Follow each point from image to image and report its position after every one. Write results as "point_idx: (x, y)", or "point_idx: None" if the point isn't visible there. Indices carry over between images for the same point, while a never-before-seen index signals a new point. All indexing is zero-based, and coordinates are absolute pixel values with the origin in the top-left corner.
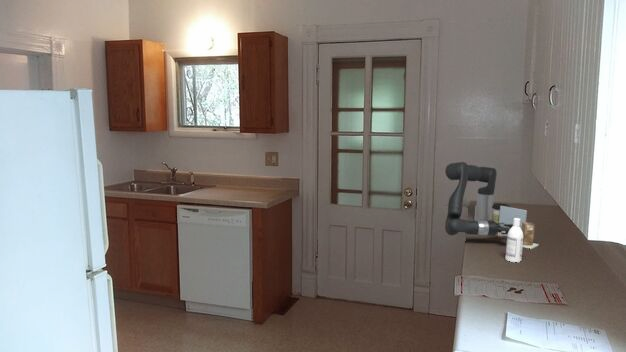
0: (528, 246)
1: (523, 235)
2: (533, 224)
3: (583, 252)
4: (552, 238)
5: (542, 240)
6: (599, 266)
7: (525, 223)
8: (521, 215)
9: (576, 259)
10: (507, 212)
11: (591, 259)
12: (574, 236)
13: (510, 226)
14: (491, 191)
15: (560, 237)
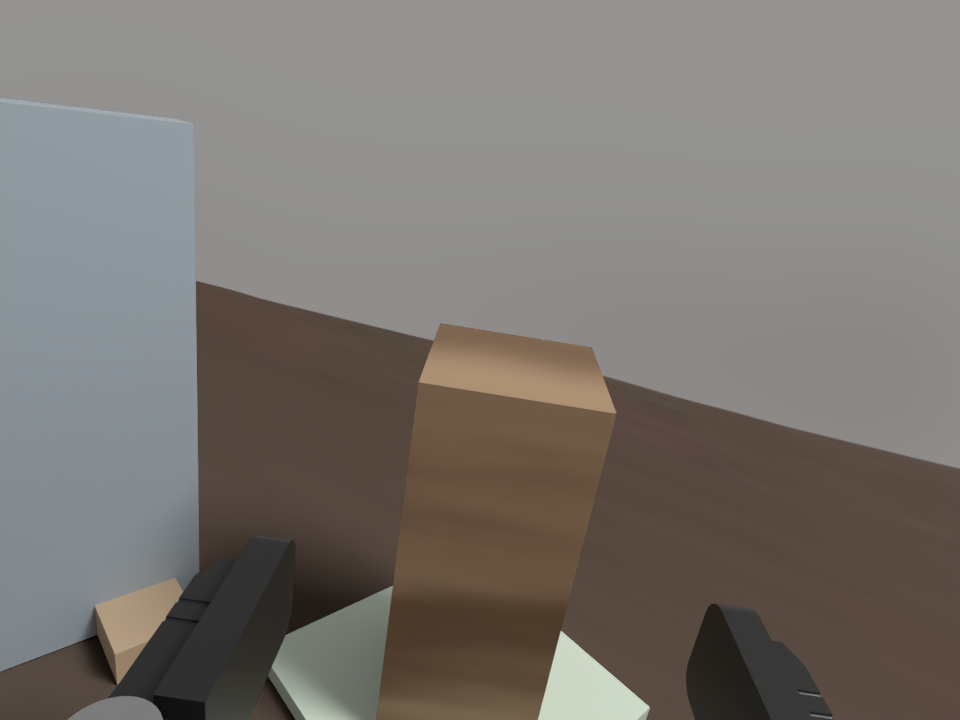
0: (584, 712)
1: (508, 618)
2: (585, 351)
3: (623, 415)
4: (263, 386)
5: (293, 455)
6: (942, 487)
7: (533, 389)
8: (110, 235)
9: (848, 518)
10: None
11: (784, 451)
12: (269, 310)
13: (255, 649)
14: None
15: (259, 351)
